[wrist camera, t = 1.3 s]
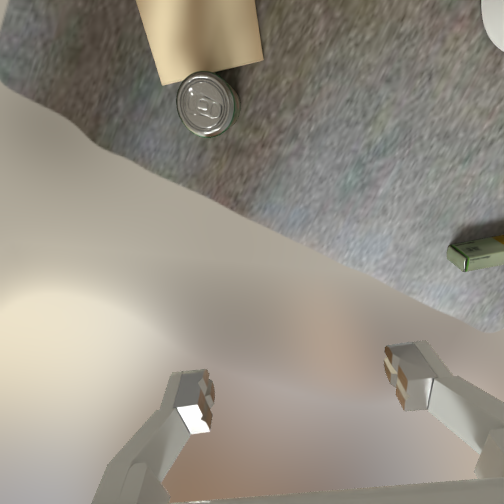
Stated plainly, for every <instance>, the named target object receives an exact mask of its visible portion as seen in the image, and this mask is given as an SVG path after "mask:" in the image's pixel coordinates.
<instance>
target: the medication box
mask: <svg viewBox="0 0 504 504" xmlns="http://www.w3.org/2000/svg"><path fill="white" fill-rule="evenodd" d="M447 259H448V260H449V261H451V262H452V263H453V264H454V265H455V266H457V267H458V268H459V269H460V270H461V271H462V272H467V271H472V270H477V269H483V268H488V267H493V266H498V265H504V235H499V236H494V237H489V238H484V239H478V240H473V241H468V242H463V243H458V244H453V245H449V246H448V249H447Z"/></svg>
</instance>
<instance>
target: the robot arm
mask: <svg viewBox="0 0 504 504" xmlns="http://www.w3.org/2000/svg"><path fill="white" fill-rule="evenodd" d="M481 10H482V18H483V23H484V26H485V29H486V32H487V34H488V36H489V38H490V39H491V41H492V42H493V43H494V44H495V45H496V46H497V47H498V48H499V49H500V50H502V51H504V0H481ZM384 352H385V354H386V356H387V357H386V358H385V359H384V368H385V373H386V376H387V378H388V380H389V382H390V384H391V385H393V386H394V387H396V396H397V398H398V400H399V402H400V404H401V406H402V408H403V410H404V411H415V410H428V411H429V412H430V413H431V414H432V415H434V416H435V417H436V418H437V419H438V420H439V421H441V422H442V423H443V424H444V425H445V426H446V427H448V428H449V429H450V430H451V431H452V432H454V433H455V434H456V435H457V436H458V437H459V438H461V439H462V440H463V441H464V442H465V443H467V444H468V445H469V446H470V447H471V448H473V449H474V450H475V451H476V452H477V453H478V454H480V457H479V459H478V462H477V464H476V467H475V470H474V473H475V474H476V476H477V478H478V479H474V480H473V479H472V480H459V481H446V482H435V483H421V484H408V485H396V486H383V487H370V488H357V489H344V490H332V491H319V492H307V493H293V494H281V495H269V496H255V497H243V498H231V499H218V500H206V501H192V502H180V503H169V501H170V495H169V493H168V492H167V490H166V489H165V488H164V487H163V485H162V484H161V482H162V481H163V479H164V477H165V475H166V474H167V472H168V471H169V469H170V468H171V466H172V464H173V463H174V461H175V460H176V458H177V456H178V455H179V453H180V452H181V450H182V448H183V447H184V445H185V444H186V442H187V440H188V439H189V437H190V434H196V433H203V432H210V429H211V423H212V416H213V415H212V412H211V410H210V409H211V407H212V406H213V405H214V400H215V389H214V384H213V381H212V380H210V379H209V372H208V370H207V369H202V370H192V371H182V372H173V373H172V375H171V376H170V378H169V381H168V385H167V388H166V391H165V394H164V397H163V400H162V403H161V407H160V410H156V411H155V412H154V413H153V414H152V416H151V417H150V418H149V419H148V420H147V421H146V422H145V424H144V425H143V426H142V427H141V428H140V429H139V430H138V431H137V432H136V434H135V435H134V436H133V437H132V438H131V439H130V440H129V441H128V442H127V444H126V445H125V446H124V447H123V448H122V449H121V450H120V451H119V453H118V454H117V455H116V456H115V457H114V458H113V459H112V460H111V462H110V463H109V464H108V465H107V467H106V470H105V472H104V475H103V477H102V479H101V482H100V484H99V487H98V489H97V491H96V494H95V496H94V499H93V501H92V503H91V504H504V402H502V401H500V400H499V399H497V398H495V397H494V396H492V395H490V394H488V393H487V392H485V391H483V390H482V389H480V388H478V387H476V386H474V385H473V384H471V383H469V382H468V381H466V380H464V379H463V378H461V377H459V376H453V374H452V373H451V372H450V370H449V369H448V368H447V366H446V365H445V364H444V363H443V361H442V360H441V359H440V358H439V356H438V355H437V353H436V352H435V351H434V349H433V348H432V347H431V345H430V344H429V343H428V342H427V341H417V342H407V343H400V344H393V345H387V346H386V347H385V350H384Z"/></svg>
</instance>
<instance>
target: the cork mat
mask: <svg viewBox="0 0 504 504" xmlns="http://www.w3.org/2000/svg"><path fill="white" fill-rule="evenodd" d="M136 2H137V5H138V8H139V12H140V15H141V18H142V21H143V25H144V28H145V31H146V34H147V37H148V41H149V44H150V47H151V50H152V54H153V57H154V60H155V63H156V67H157V70H158V73H159V76H160V79H161V83H162V85H167V84H171V83H175V82H179V81H183V80H184V79H185V78H186V77H187V76H189V75H190V74H192V73H194V72H197V71H209V72H212V73H215V72H219V71H223V70H227V69H231V68H235V67H239V66H243V65H247V64H251V63H255V62H259V61H263V54H262V47H261V40H260V34H259V27H258V20H257V14H256V7H255V0H136Z"/></svg>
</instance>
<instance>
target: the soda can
mask: <svg viewBox="0 0 504 504" xmlns="http://www.w3.org/2000/svg"><path fill="white" fill-rule="evenodd" d="M176 105H177V111H178V114H179V117H180V119H181V121H182V123H183V124H184V125H185V127H186V128H187V129H188V130H189V131H191V132H192V133H194V134H195V135H198V136H200V137H204V138H211V137H216V136H218V135H220V134H222V133H223V132H225V131H226V130H227V129H229V128H230V127H231V126H232V125H234V124H235V122H236V121H237V119H238V117H239V115H240V109H241V105H240V100H239V97H238V94H237V93H236V91H235V90H234V89H233V88H232V87H231V86H230V85H229V84H228V83H227V82H226V81H224V80H223V79H222V78H221V77H220V76H218V75H217V74H215V73H212V72H209V71H197V72H194V73H192V74H190V75H189V76H187V77H186V78H185V79H184V80H183V82H182V83H181V85H180V87H179V89H178V92H177V98H176Z"/></svg>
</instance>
